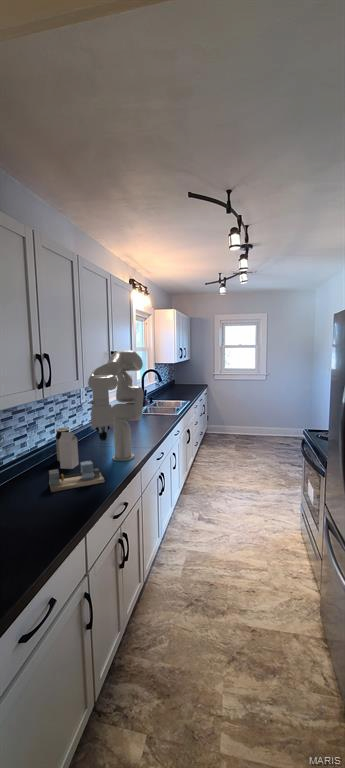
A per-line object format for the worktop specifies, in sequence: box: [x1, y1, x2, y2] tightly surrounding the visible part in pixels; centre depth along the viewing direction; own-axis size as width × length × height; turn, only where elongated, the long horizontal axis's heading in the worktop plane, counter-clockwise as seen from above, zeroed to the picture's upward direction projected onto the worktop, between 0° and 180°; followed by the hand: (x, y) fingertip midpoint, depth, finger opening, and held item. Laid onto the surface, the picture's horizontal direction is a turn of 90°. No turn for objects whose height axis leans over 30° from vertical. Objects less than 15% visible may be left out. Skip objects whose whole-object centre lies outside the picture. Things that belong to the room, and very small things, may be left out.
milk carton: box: [59, 431, 80, 470], centre depth 187 cm, size 7×7×19 cm
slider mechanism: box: [48, 467, 106, 493], centre depth 164 cm, size 10×24×8 cm, turn 114°
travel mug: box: [55, 427, 70, 462], centre depth 199 cm, size 8×8×18 cm
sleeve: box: [79, 460, 95, 480], centre depth 166 cm, size 6×5×7 cm
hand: (103, 439), depth 168 cm, fingers closed
